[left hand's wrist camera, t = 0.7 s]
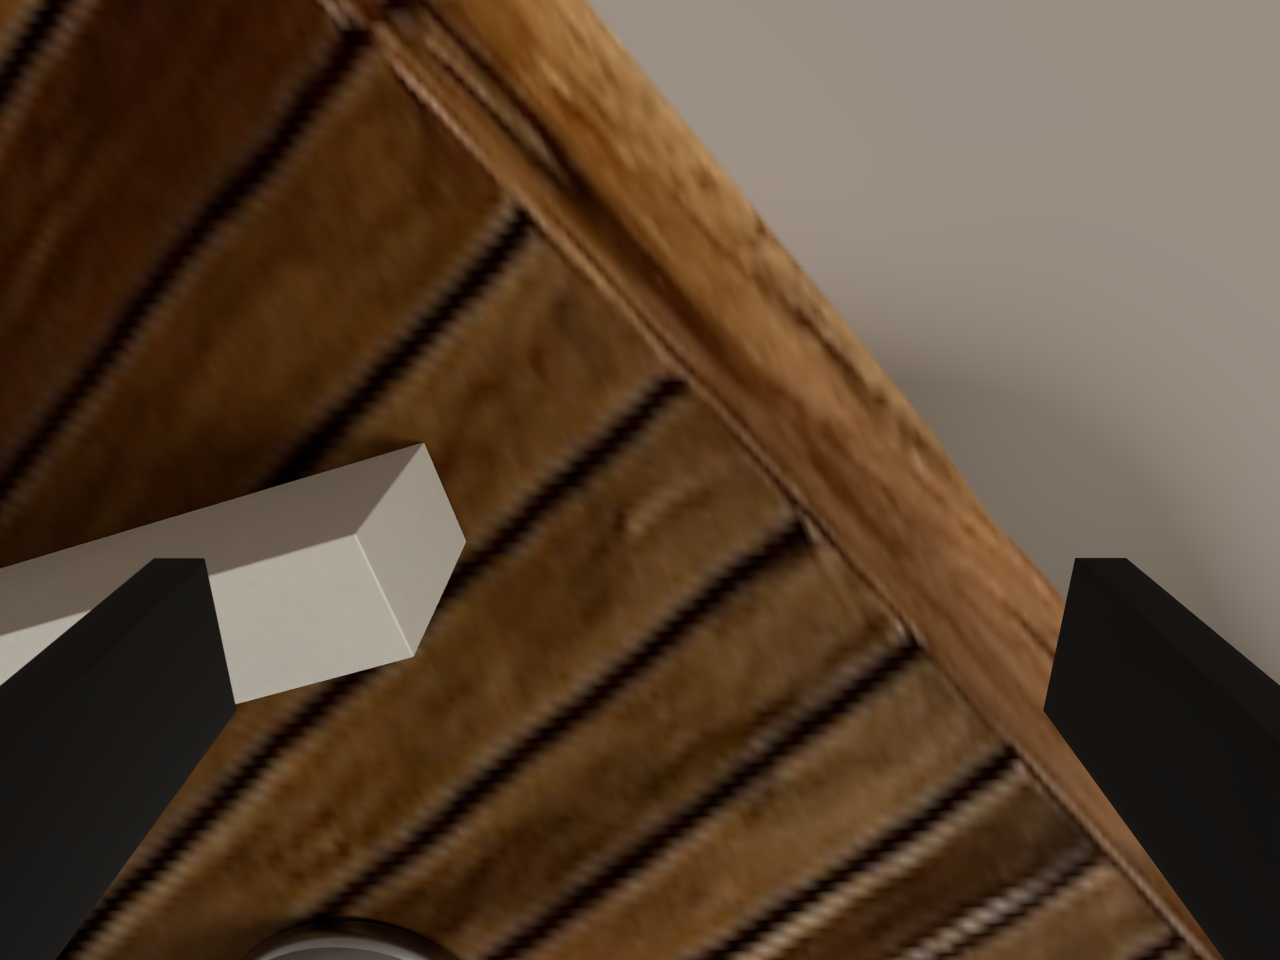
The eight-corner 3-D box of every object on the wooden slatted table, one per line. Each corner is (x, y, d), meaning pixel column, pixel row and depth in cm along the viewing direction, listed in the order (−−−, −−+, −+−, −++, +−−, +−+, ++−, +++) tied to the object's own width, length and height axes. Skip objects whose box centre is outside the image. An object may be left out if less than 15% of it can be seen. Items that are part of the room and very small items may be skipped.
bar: (424, 441, 36) (354, 533, 27) (466, 541, 38) (414, 657, 29) (-112, 601, 39) (-325, 728, 30) (-50, 687, 41) (-234, 830, 32)
